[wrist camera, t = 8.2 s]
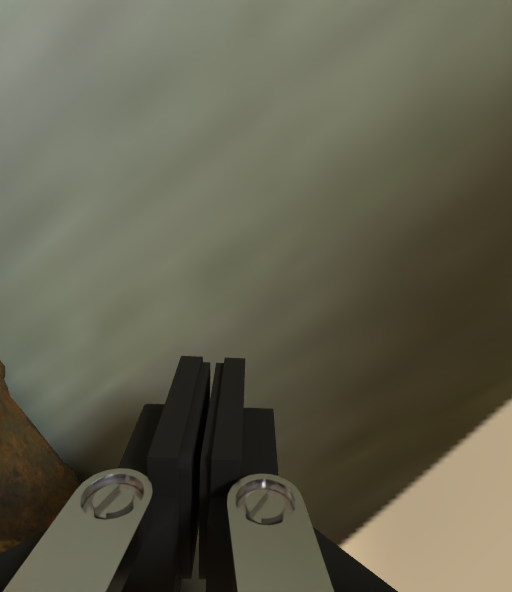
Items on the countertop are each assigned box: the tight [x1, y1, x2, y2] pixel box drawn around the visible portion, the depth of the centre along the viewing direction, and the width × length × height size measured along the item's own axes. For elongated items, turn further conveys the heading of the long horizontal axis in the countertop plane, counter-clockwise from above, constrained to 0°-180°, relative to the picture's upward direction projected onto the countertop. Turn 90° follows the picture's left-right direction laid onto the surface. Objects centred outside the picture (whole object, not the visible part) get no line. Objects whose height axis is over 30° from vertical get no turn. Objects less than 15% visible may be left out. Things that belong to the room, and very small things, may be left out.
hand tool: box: [0, 361, 81, 554], centre depth 16 cm, size 19×4×5 cm, turn 25°
